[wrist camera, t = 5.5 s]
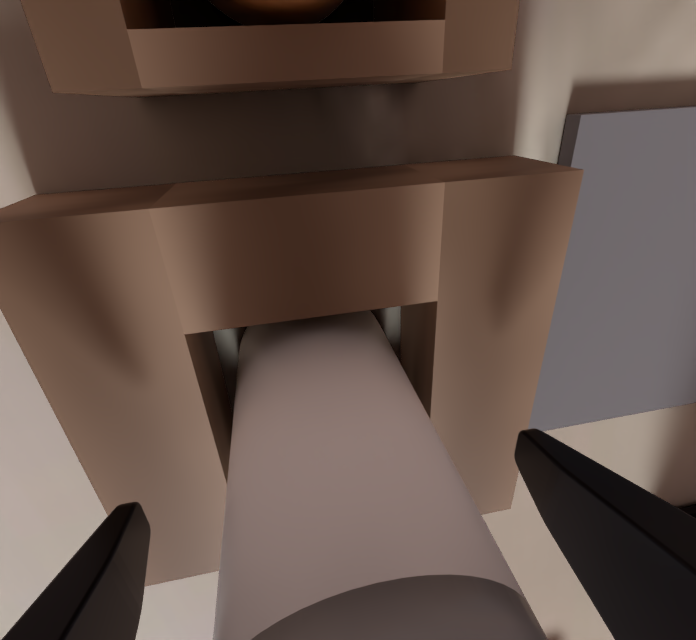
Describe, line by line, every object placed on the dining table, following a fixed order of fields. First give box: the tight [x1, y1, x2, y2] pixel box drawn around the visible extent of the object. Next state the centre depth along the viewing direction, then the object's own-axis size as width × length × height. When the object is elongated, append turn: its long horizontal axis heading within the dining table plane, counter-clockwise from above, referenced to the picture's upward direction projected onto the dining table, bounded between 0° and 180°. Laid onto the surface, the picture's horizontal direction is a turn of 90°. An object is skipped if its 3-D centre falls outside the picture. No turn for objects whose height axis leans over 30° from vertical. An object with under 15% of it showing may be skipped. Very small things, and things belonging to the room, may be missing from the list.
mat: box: [528, 106, 696, 431], centre depth 15 cm, size 10×12×1 cm
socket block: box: [0, 0, 584, 586], centre depth 10 cm, size 13×20×4 cm, turn 2°
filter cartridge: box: [213, 310, 548, 640], centre depth 10 cm, size 5×5×10 cm
